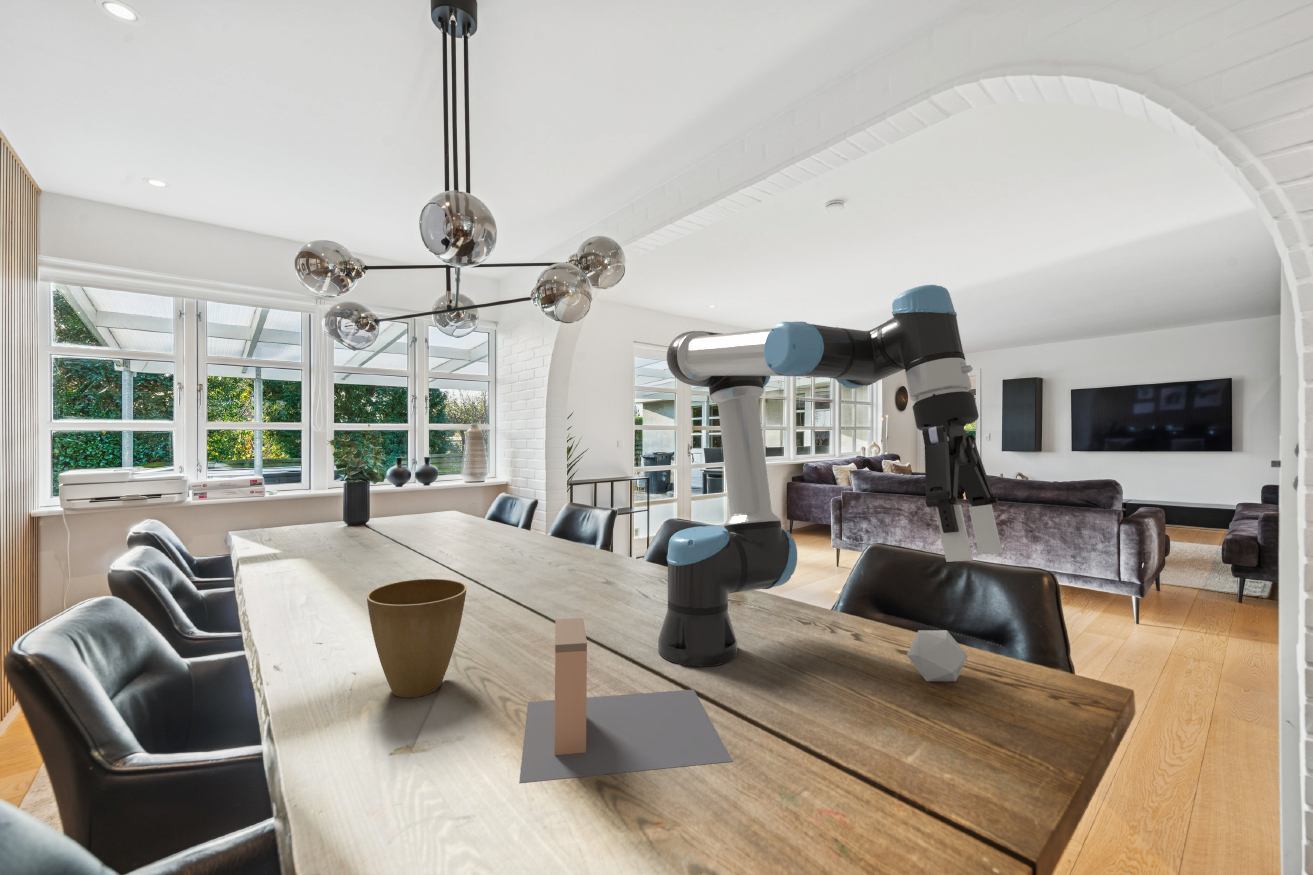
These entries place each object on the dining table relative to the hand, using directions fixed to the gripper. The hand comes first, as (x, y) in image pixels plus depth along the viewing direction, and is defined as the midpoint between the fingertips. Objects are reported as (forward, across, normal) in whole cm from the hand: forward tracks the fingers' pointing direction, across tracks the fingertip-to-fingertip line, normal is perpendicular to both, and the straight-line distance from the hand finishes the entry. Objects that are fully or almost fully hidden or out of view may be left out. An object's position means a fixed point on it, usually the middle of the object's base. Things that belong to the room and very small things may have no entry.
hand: (976, 557), depth 70 cm
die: (+21, +26, +17) cm, 37 cm away
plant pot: (+13, -40, +75) cm, 86 cm away
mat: (+19, -25, +42) cm, 53 cm away
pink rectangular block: (+18, -31, +46) cm, 59 cm away
